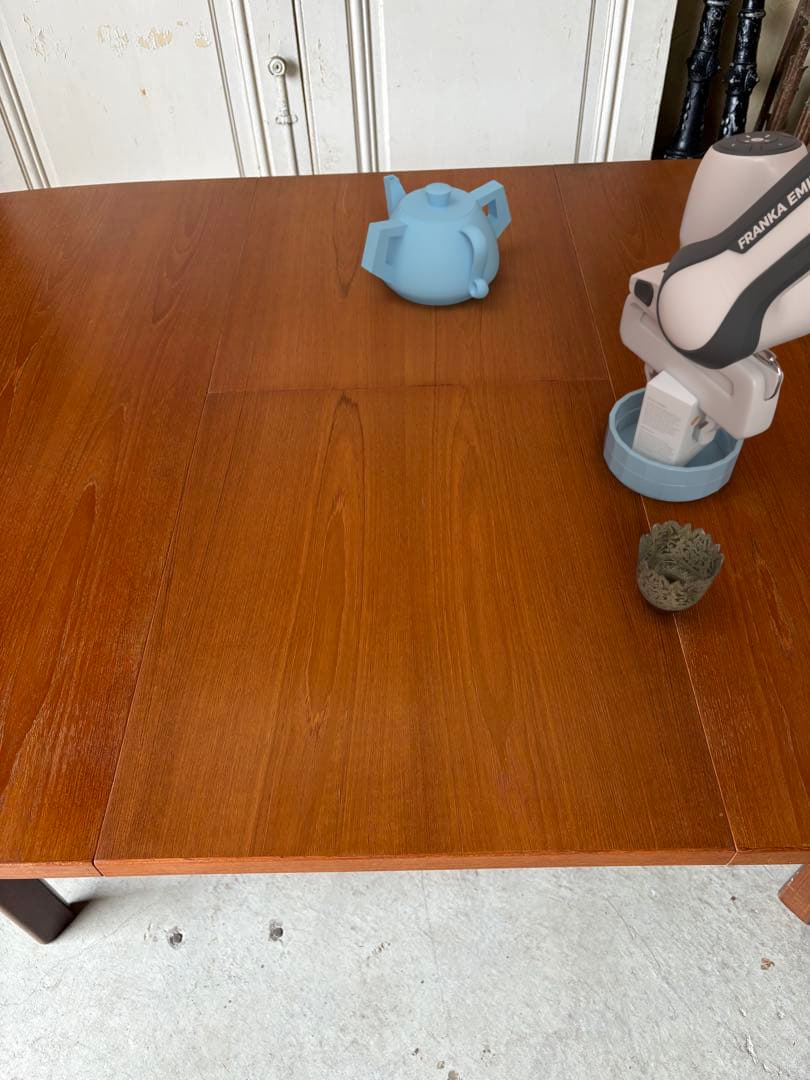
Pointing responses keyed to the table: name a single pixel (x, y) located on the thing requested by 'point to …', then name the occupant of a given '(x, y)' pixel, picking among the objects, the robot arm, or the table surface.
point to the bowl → (657, 478)
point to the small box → (668, 423)
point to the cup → (676, 566)
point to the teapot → (437, 241)
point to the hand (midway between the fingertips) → (677, 418)
